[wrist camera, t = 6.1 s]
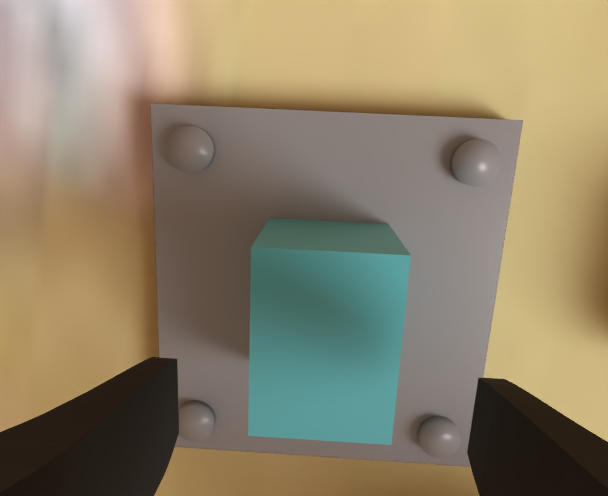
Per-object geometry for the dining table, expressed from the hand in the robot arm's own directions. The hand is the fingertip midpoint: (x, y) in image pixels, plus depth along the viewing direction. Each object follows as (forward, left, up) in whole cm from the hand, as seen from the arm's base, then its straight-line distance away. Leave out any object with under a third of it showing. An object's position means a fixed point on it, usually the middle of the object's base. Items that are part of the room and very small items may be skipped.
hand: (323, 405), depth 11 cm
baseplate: (0, 0, -8) cm, 8 cm away
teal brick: (0, 0, -7) cm, 7 cm away
